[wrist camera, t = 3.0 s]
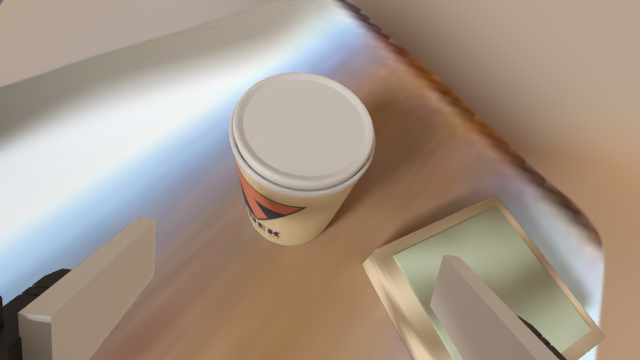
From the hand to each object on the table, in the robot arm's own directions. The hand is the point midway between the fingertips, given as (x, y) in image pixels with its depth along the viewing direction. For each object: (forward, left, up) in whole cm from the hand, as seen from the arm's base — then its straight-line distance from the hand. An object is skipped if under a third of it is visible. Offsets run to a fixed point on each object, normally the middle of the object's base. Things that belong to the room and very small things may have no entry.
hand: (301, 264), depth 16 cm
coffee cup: (-8, +4, -13) cm, 16 cm away
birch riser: (+6, +14, -13) cm, 20 cm away
